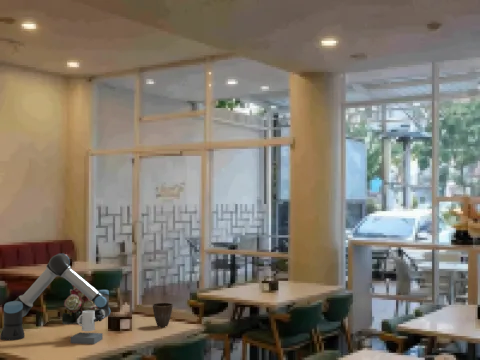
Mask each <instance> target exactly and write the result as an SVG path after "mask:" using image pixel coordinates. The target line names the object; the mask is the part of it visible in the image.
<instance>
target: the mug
mask: <svg viewBox="0 0 480 360" xmlns="http://www.w3.org/2000/svg"><path fill="white" fill-rule="evenodd" d="M81 316H82V324H80V323H79V318H80V317H81ZM79 318H78V324H77V325H79V326H80V327H81V331H83V332H92V331H95V330H96V327H95V326H96V325H95V324H96V322H94V323H92V324H91V319H93V318H95V310H94V311H93V310H87V311H82V315H80V316H79Z"/></svg>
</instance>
